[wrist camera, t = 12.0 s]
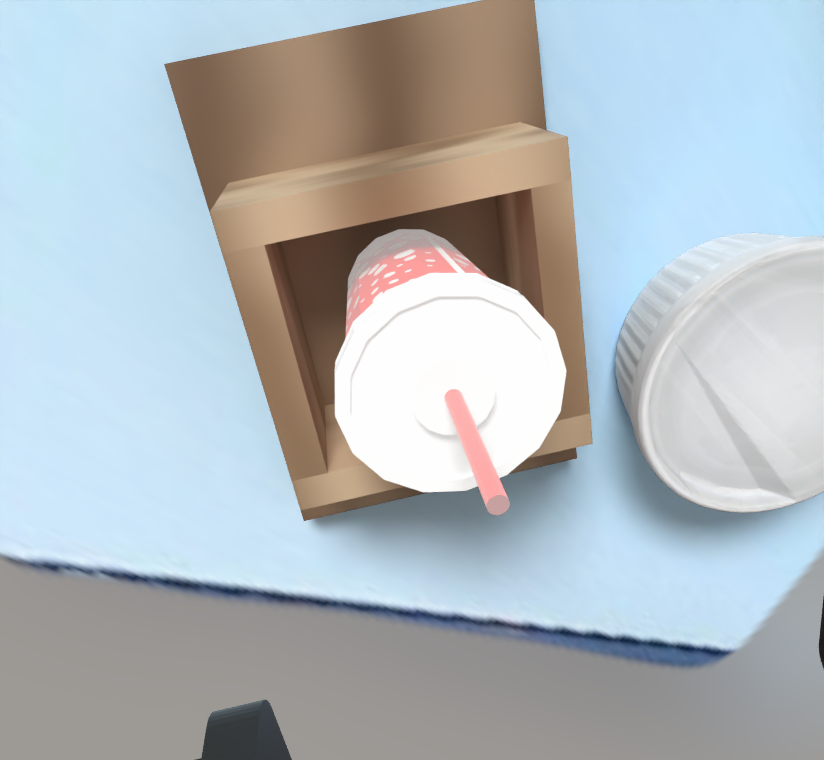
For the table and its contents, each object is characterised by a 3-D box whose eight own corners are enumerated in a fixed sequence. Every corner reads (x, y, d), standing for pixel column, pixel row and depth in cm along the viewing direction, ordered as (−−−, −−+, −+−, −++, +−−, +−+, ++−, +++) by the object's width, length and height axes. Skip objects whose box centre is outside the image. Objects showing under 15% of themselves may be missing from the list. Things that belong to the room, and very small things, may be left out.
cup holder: (520, -7, 24) (588, -27, 18) (565, 441, 32) (623, 527, 26) (172, 63, 24) (127, 66, 18) (304, 501, 31) (303, 603, 25)
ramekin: (551, 422, 31) (594, 487, 27) (658, 175, 27) (731, 199, 23) (758, 471, 34) (831, 538, 29) (883, 252, 30) (991, 288, 25)
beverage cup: (312, 350, 27) (312, 611, 14) (344, 190, 25) (378, 332, 12) (465, 376, 28) (589, 637, 16) (509, 226, 26) (697, 390, 13)
